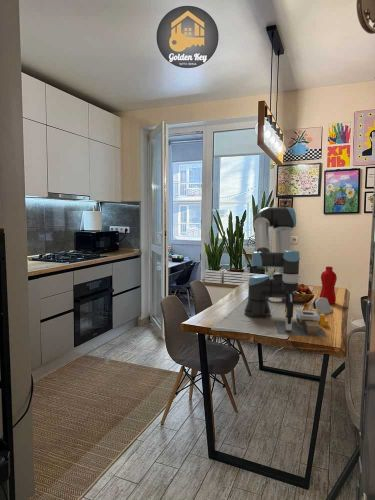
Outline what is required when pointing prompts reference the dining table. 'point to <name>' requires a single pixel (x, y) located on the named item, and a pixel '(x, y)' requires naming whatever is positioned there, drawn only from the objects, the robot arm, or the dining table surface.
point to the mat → (295, 330)
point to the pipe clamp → (321, 319)
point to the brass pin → (285, 323)
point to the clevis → (308, 321)
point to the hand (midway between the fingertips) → (288, 328)
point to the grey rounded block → (321, 305)
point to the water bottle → (328, 285)
